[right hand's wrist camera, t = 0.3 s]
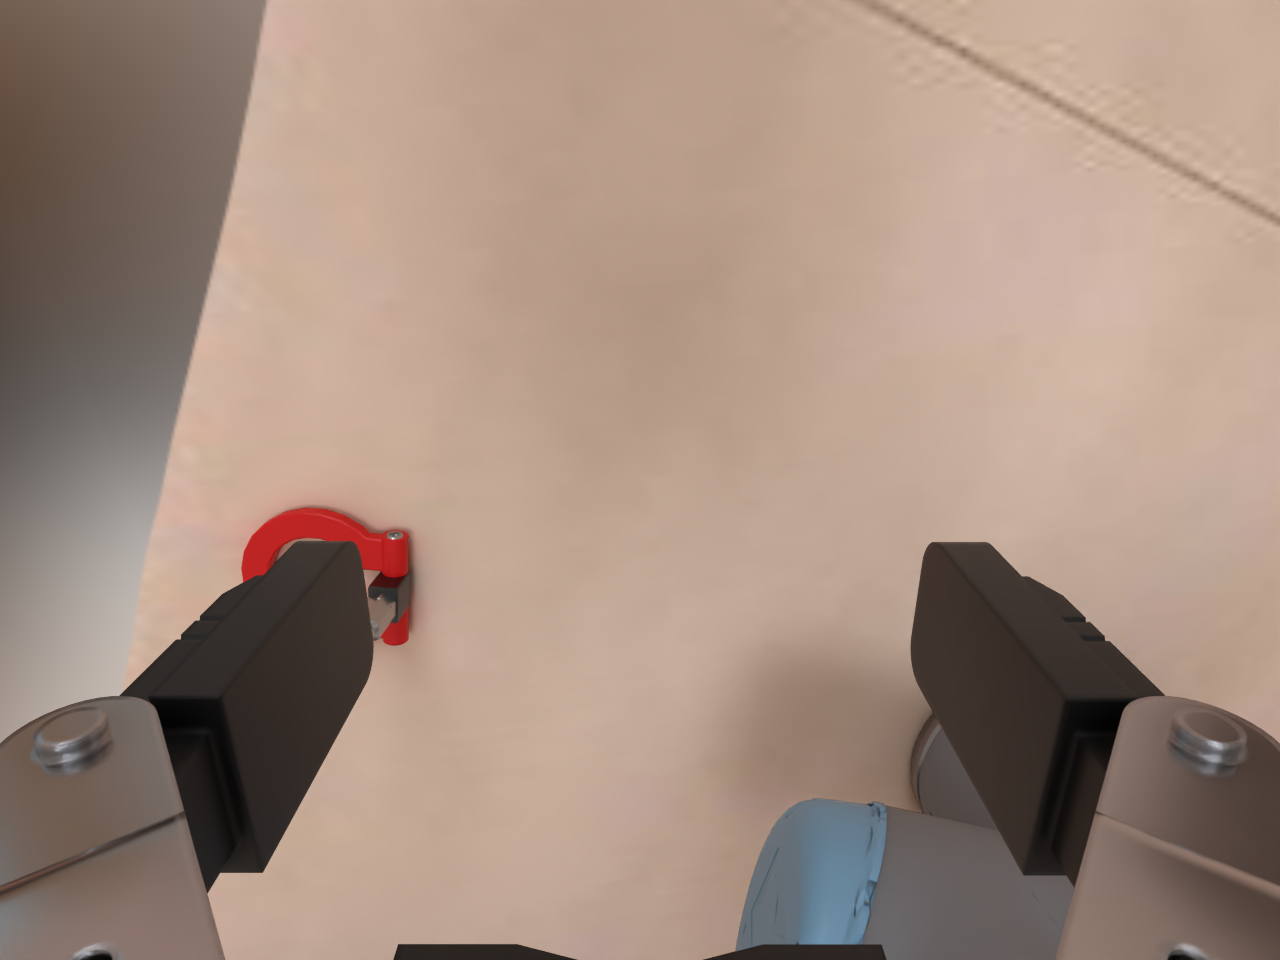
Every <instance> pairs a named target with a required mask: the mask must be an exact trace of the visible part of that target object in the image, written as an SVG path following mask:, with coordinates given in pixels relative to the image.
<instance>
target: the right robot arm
mask: <svg viewBox="0 0 1280 960" xmlns="http://www.w3.org/2000/svg"><path fill="white" fill-rule="evenodd" d="M1085 619H1086V618H1085V617H1084V616H1083V615H1082V614H1081V613H1080V612H1079V611H1078V610H1077V609H1076V608H1075V607H1074V606H1073V605H1072V604H1071V603H1070V602H1069V601H1068V600H1067V599H1066V598H1065V597H1064V596H1063V595H1061V594H1059V593H1057V592H1056V591H1054V590H1052V589H1050V588H1048V587H1046V586H1045V585H1043V584H1041V583H1039V582H1037V581H1035V580H1034V579H1032V578H1030V577H1022V576H1021V575H1020V574H1019V573H1018V572H1017V571H1016V570H1015V569H1014V568H1013V567H1012V566H1011V565H1010V564H1009V563H1008V562H1007V561H1006V560H1005V559H1004V558H1003V557H1002V555H1001V554H1000V553H999V552H998V551H997V550H996V549H995V548H994V547H993V546H992V545H991V544H989V543H987V542H932V543H930V544H929V545H928V547H927V548H926V551H925V553H924V557H923V562H922V569H921V575H920V582H919V589H918V596H917V602H916V609H915V616H914V623H913V629H912V636H911V661H912V667H913V672H914V676H915V679H916V681H917V684H918V686H919V688H920V689H921V691H922V693H923V695H924V697H925V698H926V700H927V702H928V704H929V706H930V707H931V709H932V711H933V713H934V715H935V716H936V718H937V720H938V722H939V724H940V725H941V727H942V729H943V731H944V733H945V735H946V736H947V738H948V740H949V742H950V744H951V745H952V747H953V749H954V751H955V753H956V754H957V756H958V758H959V760H960V762H961V763H962V765H963V767H964V769H965V771H966V773H967V774H968V776H969V778H970V780H971V782H972V783H973V785H974V787H975V789H976V791H977V792H978V794H979V796H980V798H981V800H982V801H983V803H984V805H985V807H986V809H987V810H988V812H989V814H990V816H991V818H992V820H993V821H994V823H995V825H996V827H997V829H998V830H999V832H1000V834H1001V836H1002V838H1003V839H1004V841H1005V843H1006V845H1007V847H1008V848H1009V850H1010V852H1011V854H1012V856H1013V858H1014V859H1015V861H1016V863H1017V865H1018V867H1019V868H1020V870H1021V872H1022V874H1023V876H1067V877H1068V879H1069V880H1070V882H1071V884H1072V885H1073V887H1074V891H1073V895H1072V898H1071V902H1070V906H1069V909H1068V913H1067V917H1066V920H1065V924H1064V928H1063V931H1062V935H1061V939H1060V942H1059V946H1058V950H1057V953H1056V957H1055V960H1280V743H1279V742H1277V741H1276V740H1275V739H1274V738H1273V737H1272V736H1270V735H1269V734H1268V733H1266V732H1265V731H1264V730H1262V729H1260V728H1259V727H1257V726H1256V725H1254V724H1252V723H1251V722H1249V721H1247V720H1245V719H1243V718H1241V717H1239V716H1237V715H1235V714H1233V713H1230V712H1228V711H1226V710H1223V709H1220V708H1218V707H1215V706H1212V705H1209V704H1206V703H1202V702H1198V701H1195V700H1190V699H1185V698H1179V697H1170V696H1165V695H1164V694H1163V693H1162V692H1161V691H1160V690H1159V689H1158V688H1157V687H1156V686H1155V685H1154V684H1153V683H1152V682H1151V681H1150V680H1149V679H1148V678H1147V677H1146V676H1145V675H1144V674H1143V673H1142V672H1141V671H1140V670H1138V669H1137V668H1136V667H1135V666H1134V665H1133V664H1132V663H1131V662H1130V661H1129V660H1128V659H1127V658H1126V657H1125V656H1124V655H1123V654H1122V653H1121V652H1120V651H1119V650H1118V649H1117V648H1116V647H1115V646H1114V645H1113V644H1112V643H1111V642H1110V641H1105V636H1104V635H1103V634H1102V633H1101V632H1100V631H1099V630H1098V629H1097V628H1096V627H1095V626H1093V625H1092V624H1091V623H1090V622H1086V620H1085ZM372 660H373V634H372V627H371V620H370V613H369V607H368V600H367V593H366V586H365V579H364V572H363V565H362V559H361V555H360V551H359V549H358V547H357V545H356V544H355V543H354V542H352V541H297V542H295V543H294V544H293V545H292V546H291V547H290V548H289V549H288V550H287V551H286V552H285V553H284V554H283V555H282V556H281V557H280V558H279V559H278V560H277V561H276V563H275V564H274V565H273V566H272V567H271V568H270V569H269V570H268V571H267V572H266V573H265V574H264V575H256V576H254V577H253V578H251V579H249V580H247V581H245V582H243V583H242V584H240V585H238V586H236V587H234V588H233V589H231V590H229V591H227V592H225V593H223V594H222V595H221V596H220V597H219V598H218V599H217V600H216V601H215V602H214V603H213V604H212V605H211V606H210V607H209V608H208V609H207V610H206V611H205V612H204V613H203V614H202V615H201V616H200V621H195V622H194V623H193V624H192V625H191V626H190V627H189V628H188V629H187V630H186V631H185V632H183V633H182V634H181V640H175V641H174V642H173V643H172V644H171V645H170V646H169V647H168V648H167V649H166V650H165V651H164V652H163V653H162V654H161V655H160V656H159V657H158V658H157V659H156V660H155V661H154V662H153V663H152V664H151V665H150V666H149V667H148V668H147V669H146V670H145V671H144V672H143V673H142V674H141V675H140V676H139V677H138V678H137V679H136V680H135V681H134V682H133V683H132V684H131V685H130V686H129V687H128V688H127V689H126V690H125V691H124V692H123V693H122V694H121V695H120V696H110V697H101V698H95V699H91V700H85V701H82V702H78V703H75V704H71V705H68V706H65V707H62V708H60V709H57V710H54V711H52V712H50V713H47V714H45V715H43V716H41V717H39V718H37V719H35V720H33V721H31V722H29V723H28V724H26V725H24V726H23V727H21V728H20V729H18V730H17V731H15V732H14V733H12V734H11V735H10V736H8V737H7V738H6V739H5V740H4V741H3V742H1V744H0V960H225V957H224V953H223V950H222V946H221V942H220V939H219V935H218V931H217V928H216V924H215V920H214V917H213V913H212V909H211V906H210V902H209V898H208V895H207V893H208V892H209V890H210V889H211V887H212V885H213V884H214V882H215V880H216V879H217V877H218V875H219V874H220V873H263V871H264V869H265V868H266V866H267V864H268V862H269V860H270V858H271V857H272V855H273V853H274V851H275V849H276V848H277V846H278V844H279V842H280V840H281V838H282V837H283V835H284V833H285V831H286V829H287V827H288V826H289V824H290V822H291V820H292V818H293V816H294V815H295V813H296V811H297V809H298V807H299V805H300V804H301V802H302V800H303V798H304V796H305V794H306V793H307V791H308V789H309V787H310V785H311V783H312V782H313V780H314V778H315V776H316V774H317V772H318V771H319V769H320V767H321V765H322V763H323V761H324V760H325V758H326V756H327V754H328V752H329V750H330V749H331V747H332V745H333V743H334V741H335V739H336V738H337V736H338V734H339V732H340V730H341V729H342V727H343V725H344V723H345V721H346V719H347V718H348V716H349V714H350V712H351V710H352V708H353V707H354V705H355V703H356V701H357V699H358V697H359V696H360V694H361V692H362V690H363V688H364V686H365V685H366V682H367V680H368V678H369V675H370V671H371V666H372ZM394 960H576V959H572V958H568V957H564V956H560V955H556V954H552V953H549V952H545V951H541V950H537V949H533V948H529V947H525V946H521V945H518V944H398V947H397V950H396V953H395V956H394ZM704 960H886V956H885V953H884V950H883V947H882V944H762V945H759V946H755V947H751V948H747V949H743V950H739V951H735V952H731V953H728V954H724V955H720V956H716V957H712V958H708V959H704Z"/></svg>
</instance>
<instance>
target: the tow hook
mask: <svg viewBox="0 0 1280 960" xmlns="http://www.w3.org/2000/svg"><path fill="white" fill-rule="evenodd" d="M301 538H319V539H322V540H325V541H352V542H354V543H355V544H356V545H357V547H358V549H359V551H360V555H361V559H362V565H363V569H366V570H375V571H381V572H380V573H379V574H378V576H377V577H376V578H375V579H374V581H373V582H372V583H371V584H370V586H369V587H368V597H369V598H368V607H369V613H370V620H371V627H372V634H373V641H376V640H378V639H379V638H383V641H384V642H385V643H386V644H388V645H401V644H404V643H405V642H407V641H408V606H409V605H410V571H409V570H408V534H407V533H406V532H404V531H399V530H392V531H387V532H385V533H383V534H374V533H370V532H369V531H368V530H367V529H365V528H364V527H363V526H362V525H360V524H358V523H357V522H355V521H353V520H352V519H350V518H348V517H346V516H345V515H341V514H338V513H335V512H332V511H329V510H325V509H313V508H302V509H296V510H291V511H286V512H284V513H282V514H280V515H278V516H276V517H274V518H272V519H270V520H269V521H267V522H266V523H265V524H264V525H263V526H262V527H261V528H260V529H259V530H258V531H257V532H256V533H254V534H253V535H252V537H251V539H250V541H249V543H248V545H247V547H246V548H245V550H244V555H243V561H242V568H241V569H242V576H243V582H245V581H247V580H249V579H251V578H253V577H254V576H256V575H264V574H265V573H266V572H267V571H268V570H269V569H270V568H271V567H272V566H273V565H274V563H275V557H276V555H277V554H278V552H279V550H280V548H281V547H282V546H283V545H284V544H286V543H288V542H290V541H292V540H295V539H301Z"/></svg>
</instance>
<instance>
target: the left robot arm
mask: <svg viewBox="0 0 1280 960" xmlns="http://www.w3.org/2000/svg"><path fill="white" fill-rule="evenodd" d="M911 780H912V786H913V791H914V794H915V797H916V799H917V802H918V804H919V806H920V808H921V811H922V813H923V814H921V813H917V812H912V811H908V810H903V809H899V808H894V807H890V806H885V805H884V804H883V803H879V802H870V803H869V804H860V803H852V802H844V801H837V800H829V799H821V798H816V799H812V800H806V801H802V802H799V803H798V804H796V805H794V806H793V807H791V808H789V809H788V810H787V811H786V812H785V813H784V814H783V815H782V816H781V817H780V818H779V820H778V821H777V822H776V824H775V825H774V827H773V828H772V830H771V832H770V834H769V836H768V838H767V840H766V841H765V844H764V846H763V848H762V851H761V853H760V856H759V858H758V861H757V864H756V867H755V870H754V873H753V876H752V879H751V882H750V886H749V890H748V893H747V897H746V901H745V905H744V909H743V914H742V919H741V923H740V928H739V933H738V939H737V945H736V951H739V950H743V949H747V948H751V947H755V946H759V945H762V944H882V947H883V950H884V953H885V956H886V960H1055V957H1056V953H1057V950H1058V946H1059V942H1060V939H1061V935H1062V931H1063V928H1064V924H1065V920H1066V917H1067V913H1068V909H1069V906H1070V902H1071V898H1072V895H1073V891H1074V887H1073V885H1072V884H1071V882H1070V880H1069V879H1068V877H1067V876H1023V874H1022V872H1021V870H1020V868H1019V867H1018V865H1017V863H1016V861H1015V859H1014V858H1013V856H1012V854H1011V852H1010V850H1009V848H1008V847H1007V845H1006V843H1005V841H1004V839H1003V838H1002V836H1001V834H1000V832H999V830H998V829H997V827H996V825H995V823H994V821H993V820H992V818H991V816H990V814H989V812H988V810H987V809H986V807H985V805H984V803H983V801H982V800H981V798H980V796H979V794H978V792H977V791H976V789H975V787H974V785H973V783H972V782H971V780H970V778H969V776H968V774H967V773H966V771H965V769H964V767H963V765H962V763H961V762H960V760H959V758H958V756H957V754H956V753H955V751H954V749H953V747H952V745H951V744H950V742H949V740H948V738H947V736H946V735H945V733H944V731H943V729H942V727H941V725H940V724H939V722H938V720H937V718H936V716H935V715H934V713H933V714H932V715H931V716H930V718H929V719H928V721H927V722H926V724H925V725H924V727H923V729H922V731H921V733H920V735H919V737H918V740H917V742H916V745H915V748H914V752H913V756H912V762H911Z"/></svg>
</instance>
